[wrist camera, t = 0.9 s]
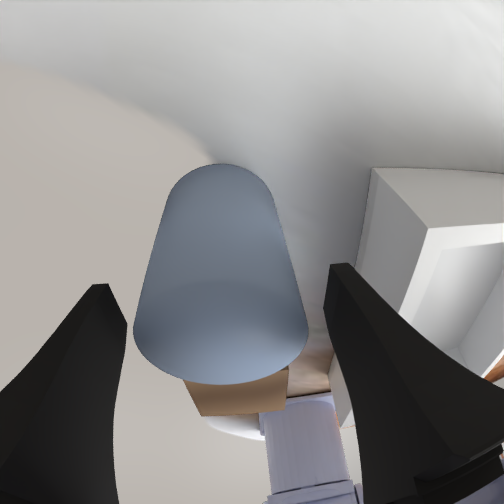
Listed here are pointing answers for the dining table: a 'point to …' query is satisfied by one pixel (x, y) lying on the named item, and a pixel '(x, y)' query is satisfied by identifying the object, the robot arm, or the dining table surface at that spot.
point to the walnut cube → (241, 396)
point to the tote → (435, 262)
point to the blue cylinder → (220, 283)
